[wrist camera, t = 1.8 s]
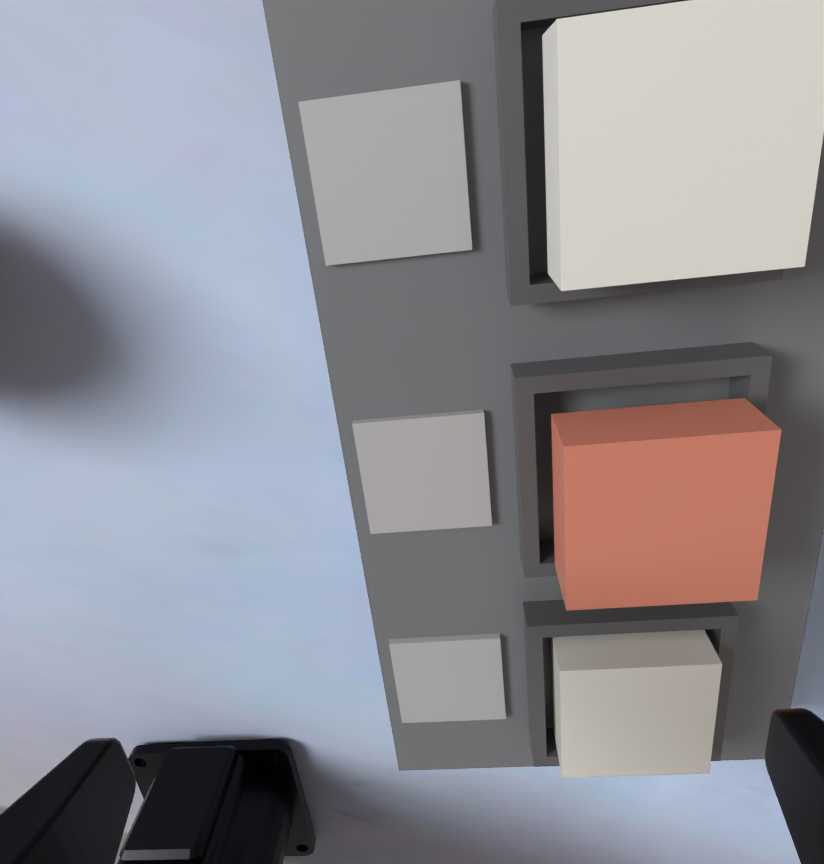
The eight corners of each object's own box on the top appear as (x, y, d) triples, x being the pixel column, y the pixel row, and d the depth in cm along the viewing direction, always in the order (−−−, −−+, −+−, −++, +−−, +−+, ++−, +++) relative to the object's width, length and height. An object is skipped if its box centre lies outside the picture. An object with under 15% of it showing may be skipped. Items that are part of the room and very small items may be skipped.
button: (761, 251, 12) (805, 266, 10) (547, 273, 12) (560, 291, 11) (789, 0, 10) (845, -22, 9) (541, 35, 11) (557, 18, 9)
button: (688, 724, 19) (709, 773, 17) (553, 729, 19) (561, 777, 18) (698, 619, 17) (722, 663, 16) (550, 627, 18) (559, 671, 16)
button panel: (740, 683, 22) (797, 788, 19) (404, 697, 23) (397, 799, 20) (846, -89, 13) (996, -177, 10) (291, -6, 14) (239, -55, 11)
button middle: (727, 555, 15) (756, 599, 13) (554, 565, 15) (566, 610, 14) (744, 398, 13) (781, 429, 12) (551, 413, 14) (563, 446, 12)
